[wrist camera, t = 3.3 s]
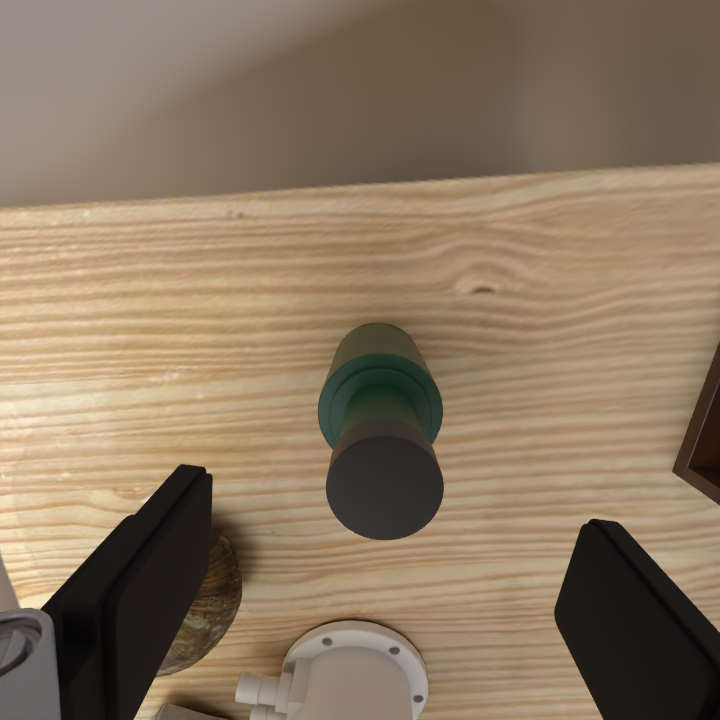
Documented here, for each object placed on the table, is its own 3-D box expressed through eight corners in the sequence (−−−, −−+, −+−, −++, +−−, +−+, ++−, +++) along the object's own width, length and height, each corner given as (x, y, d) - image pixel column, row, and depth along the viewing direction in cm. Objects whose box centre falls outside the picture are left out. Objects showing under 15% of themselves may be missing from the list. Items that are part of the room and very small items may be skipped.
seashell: (246, 503, 31) (205, 585, 23) (261, 602, 33) (228, 707, 25) (104, 509, 31) (17, 591, 24) (129, 606, 34) (56, 711, 26)
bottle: (329, 399, 29) (284, 556, 14) (339, 317, 27) (301, 390, 12) (412, 411, 29) (458, 579, 14) (427, 329, 27) (497, 416, 12)
